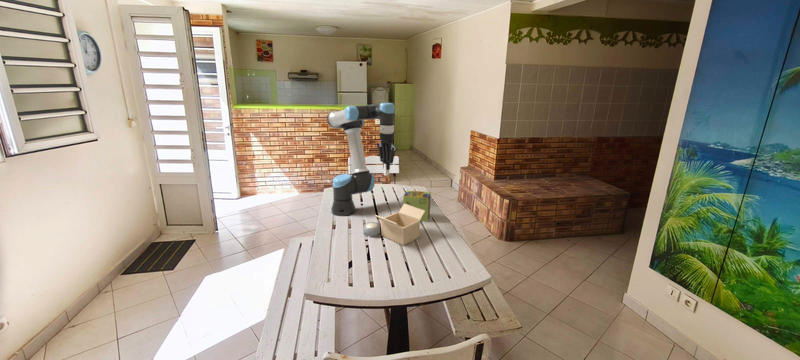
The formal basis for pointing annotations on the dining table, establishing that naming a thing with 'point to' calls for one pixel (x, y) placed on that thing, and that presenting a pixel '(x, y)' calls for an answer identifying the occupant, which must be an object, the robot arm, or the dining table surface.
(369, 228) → the push tap light
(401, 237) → the carton
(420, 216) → the flap far
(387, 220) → the flap near
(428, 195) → the protein box
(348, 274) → the dining table surface
